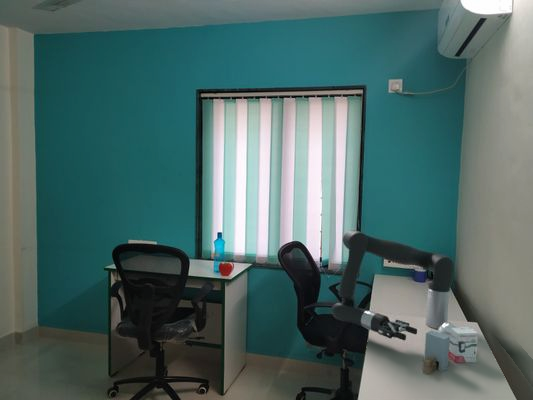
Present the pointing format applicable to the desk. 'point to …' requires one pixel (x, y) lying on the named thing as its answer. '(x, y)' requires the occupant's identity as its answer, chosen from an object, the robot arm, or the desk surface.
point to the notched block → (437, 348)
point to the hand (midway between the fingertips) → (411, 334)
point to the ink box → (463, 345)
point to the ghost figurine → (446, 329)
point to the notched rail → (430, 364)
